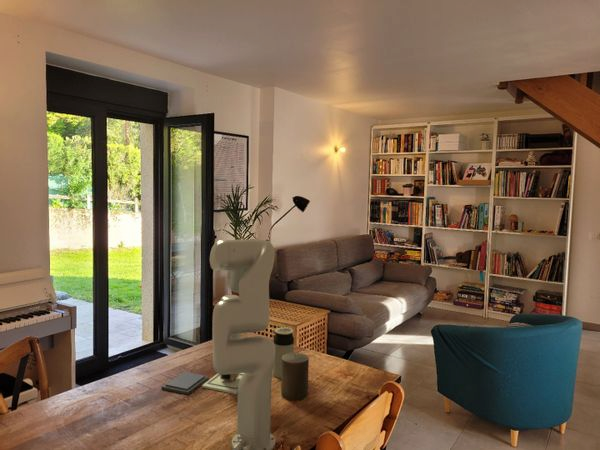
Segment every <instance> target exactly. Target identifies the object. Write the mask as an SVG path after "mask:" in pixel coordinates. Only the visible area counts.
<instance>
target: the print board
mask: <svg viewBox="0 0 600 450" xmlns="http://www.w3.org/2000/svg"><path fill="white" fill-rule="evenodd" d="M243 375H244V373H239V376H238V377H237V378H236V379H235V380H233V381H228V380H222V379H220V374H218V373H216V374H215V375H214V376H213V377H211V378H210V379H208V380H207V381H205V382H204V383H203V384H201V388H204V389H208V390H212V391H213V390H214V391H220V392H223V393H227V394H234V395H238V385H239V382H240V380H241V378H242V376H243Z"/></svg>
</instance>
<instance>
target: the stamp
mask: <svg viewBox="0 0 600 450" xmlns="http://www.w3.org/2000/svg"><path fill="white" fill-rule="evenodd" d="M238 376H239V373H238V374H230V379H229V380H228V379H223V378H222V375H221V374H220V379H222V380H228V381H233V380H235V379H236V378H237V377H238Z"/></svg>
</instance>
